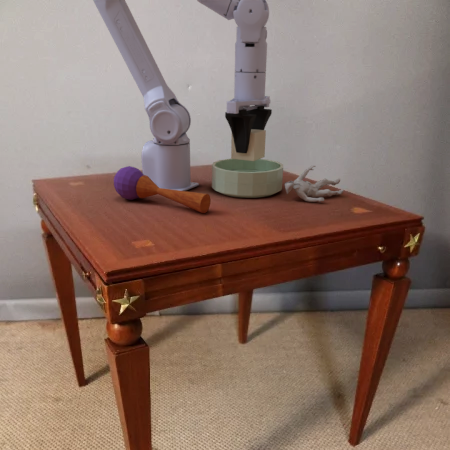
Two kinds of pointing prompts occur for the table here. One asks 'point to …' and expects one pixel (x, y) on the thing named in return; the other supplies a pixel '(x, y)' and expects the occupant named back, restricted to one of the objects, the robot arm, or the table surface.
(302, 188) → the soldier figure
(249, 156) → the cube
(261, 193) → the bowl
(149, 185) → the purple wooden maraca
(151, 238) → the table surface
